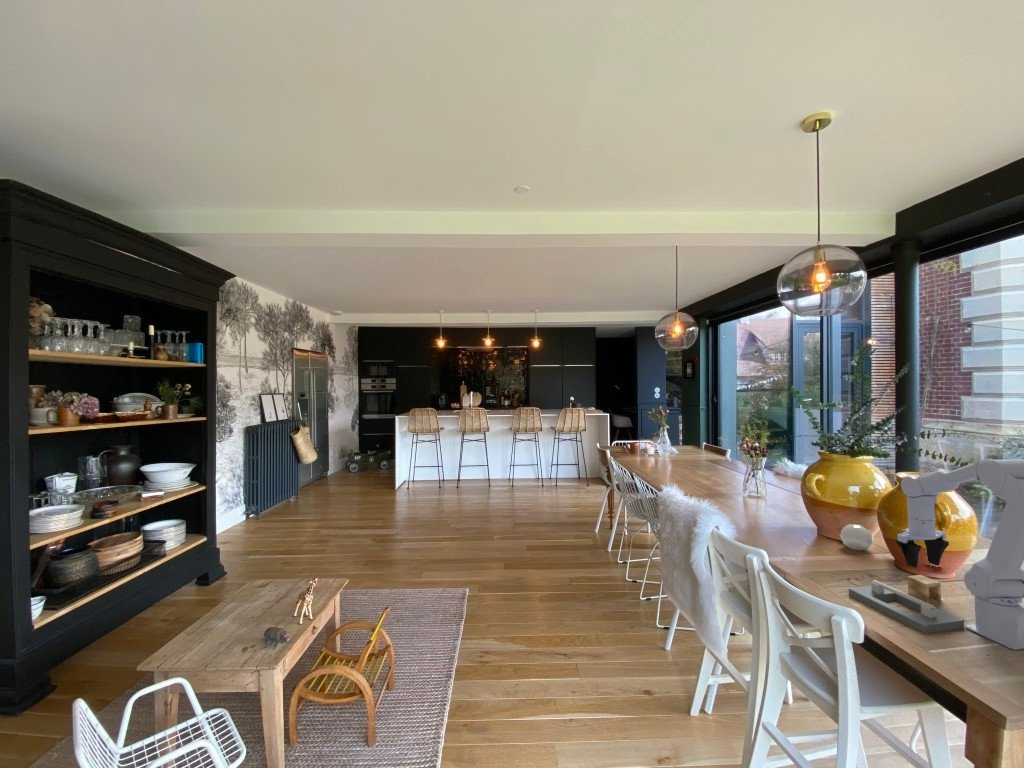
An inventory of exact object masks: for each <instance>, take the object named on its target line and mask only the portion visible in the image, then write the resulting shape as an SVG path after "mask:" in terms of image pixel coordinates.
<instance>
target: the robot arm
mask: <svg viewBox="0 0 1024 768" xmlns="http://www.w3.org/2000/svg"><path fill="white" fill-rule="evenodd" d="M976 480H977V481H981V483H983V484H984V485H985V486H986V487H987V488H988V489H989V490H990V491H991V492H992V493H993V494H994V495H996V496H997V497H998V499H1001V500H1003V501H1004V503H1005V506H1004V509H1003V511H1002V514H1001V517H1000V520H999V522H998V525H997V528H996V530H995V533H994V536H993V537H992V540H991V543H990V545H989V548H988V551H987V554H986V556H985V557H984V558H983V559H981V560H979V561H977V562H974V563H973V564H972V565H971V566H972V567H970V569H969V570H967V571H966V572H965V573H964V575H963V582H964V585H965V587H966V588H967V590H968V591H969V592H970V593H971V595H972V596H974V619H975V623H974V624H970V625H969V624H968V625H965V629H968V630H970V631H972V632H974V633H976V634H978V635H981V636H982V637H985V638H987V639H989V640H991V641H994V642H996V643H998V644H1000V645H1003V646H1005V647H1007V648H1009V649H1011V650H1014V651H1016V650H1023V649H1024V606H1022V605H1020V604H1023V599H1024V569H1022V566H1023V563H1024V458H1020V459H1019V458H1017V459H991V458H990V459H989V458H988V459H987V458H986V459H982V460H976V461H973V462H972V463H968V464H967V465H963V466H961V467H958V468H956V469H953V470H950V469H946V468H942V467H935V468H932V471H931V472H927V473H925V472H923V473H919V474H918V476H908V475H907V476H905V477H904V478H902V479H901V482H900V486H901V490H902V492H903V493H904V494H905V495H906V501H907V504H906V505H907V527H908V528H905V529H904V532H902V533H898V534H897V537H896V538H895V542H896V544H897V545H898V547H899V549H900V548H901V550H902V552H903V554H904V555H903V554H902V555H903V556H904V558H905V562H906V565H907V566H909V567H911V568H918V565H919V563H918V562H919V561H918V555H919V551H920V550H921V549H922V546H923V545H921V544H918V545H917V544H915V543H914V541H917V542H918V541H923V543H924V545H925V549H927V556H928V561H929V563H932V564H935V565H939V563H940V559H941V560H942V556H943V554H944V551H945V550H946V548H947V547H949V546H950V541H948V540H947V532H946V531H942V530H939V529H937V530H936V517H935V516H936V511H935V504H936V502H937V501H938V499H937V497H938V496H939V495H940V494H942V493H947V492H951V491H954V490H957V489H958V488H959V486H960V484H962V483H966V482H971V481H976Z"/></svg>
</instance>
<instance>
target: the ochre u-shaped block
mask: <svg viewBox="0 0 1024 768" xmlns="http://www.w3.org/2000/svg"><path fill="white" fill-rule="evenodd" d="M941 592H942V589H941V582H940V581H937V580H935V579H932V578H930V577H928V576H926V575H923V574H918V575H917V574H916V575H915V574H914V575H910V576H909V575H908V576H907V594H908V593H909V594H908V595H910V596H913V597H915V598H917V599H920V600H922V601H924V602H926V603H929V602H930V598H932V597H933V599H935V600H937V601H942V593H941Z"/></svg>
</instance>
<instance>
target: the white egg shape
mask: <svg viewBox="0 0 1024 768" xmlns="http://www.w3.org/2000/svg"><path fill="white" fill-rule="evenodd" d="M845 525H846V526H845V527H843V529H842V530H841V534H839V533H838V536H840V538H841V540H842V544H843V545H845V546H846V547H848V548H849V549H851V550H852V551H853V550H854V551H866V550H869V548H870V547H871V546H872V544H873V536H872V534H871V532H870V530H869V529H867V528H865V527H864V526H863V525H860V524H853V523H849V524H845Z"/></svg>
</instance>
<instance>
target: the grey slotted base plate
mask: <svg viewBox="0 0 1024 768" xmlns="http://www.w3.org/2000/svg"><path fill="white" fill-rule="evenodd" d="M870 583H871V584H870V585H866V586H859V587H858V586H857V587H850V588H848V597H849V596H850V597H852V598H853V599H855V600H857V601H859V602H861V603H864V604H865V605H867V606H869V607H871V608H873V609H875V610H877V611H879V612H881V613H884V614H885V615H887V616H888V617H891V618H893V619H895V620H897V621H899V622H901V623H903V624H904V625H907V624H908V625H907V626H909V627H910V628H912V629H915V630H917V631H919V632H920V633H922V634H933V633H939V632H940V631H941V632H947V631H946V630H948V631H952V630H951V629H955V630H960V629H959V628H962V629H965V619H962V618H960V617H958V616H955V615H954V614H951V613H949V612H946V611H944V610H942V609H939V608H937V607H935V605H934V604H932V603H929V602H927V601H924V600H922V599H920V598H918V597H915V596H913V595H911V594H908V593H905V592H903V591H901V590H899V589H896V588H894V587H892V586H890V585H887V584H885V583H883V582H881V581H879V580H876V579H872V581H871V582H870ZM891 601H896V602H899V603H901V604H903V605H905V606H907V605H908V606H907V607H909V606H910V608H912V609H914V610H916V611H918V612H917V613H908V612H905V611H904V610H902V609H899V608H897V607H896V606H894V605H891V604H889V603H887V602H891Z"/></svg>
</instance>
